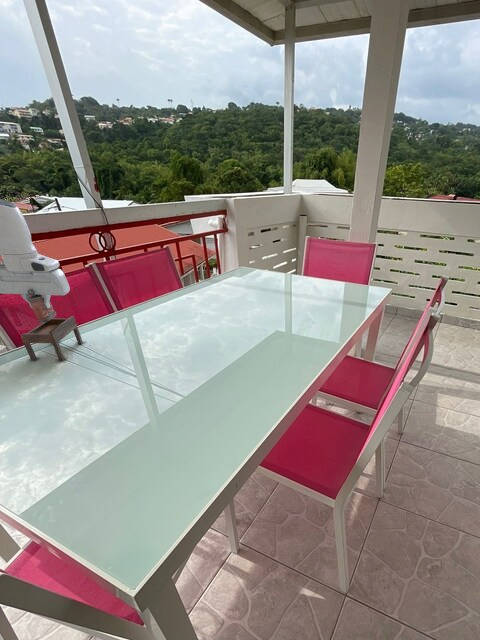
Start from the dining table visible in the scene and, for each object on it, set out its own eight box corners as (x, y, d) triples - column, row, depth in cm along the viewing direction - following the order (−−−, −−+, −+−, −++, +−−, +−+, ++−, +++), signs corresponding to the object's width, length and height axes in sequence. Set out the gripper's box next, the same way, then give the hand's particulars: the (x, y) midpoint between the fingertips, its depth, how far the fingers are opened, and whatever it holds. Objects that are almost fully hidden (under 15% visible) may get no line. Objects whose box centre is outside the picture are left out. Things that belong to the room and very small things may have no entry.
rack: (31, 360, 108) (17, 331, 103) (54, 342, 120) (43, 315, 114) (63, 360, 109) (51, 332, 104) (83, 342, 121) (73, 316, 115)
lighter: (48, 313, 111) (34, 283, 105) (58, 313, 111) (46, 283, 106) (35, 322, 104) (20, 291, 99) (46, 322, 105) (32, 290, 99)
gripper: (-23, 263, 95) (-1, 310, 102) (52, 266, 96) (68, 311, 104) (-7, 258, 100) (13, 303, 108) (63, 261, 101) (78, 305, 109)
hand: (41, 307), depth 106 cm, fingers closed on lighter, 2 cm apart
